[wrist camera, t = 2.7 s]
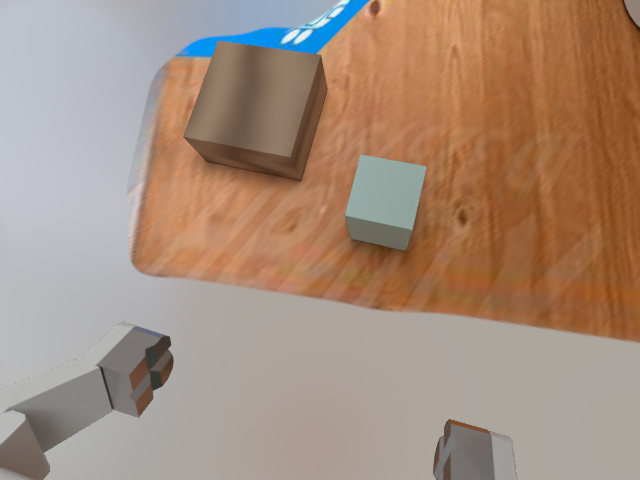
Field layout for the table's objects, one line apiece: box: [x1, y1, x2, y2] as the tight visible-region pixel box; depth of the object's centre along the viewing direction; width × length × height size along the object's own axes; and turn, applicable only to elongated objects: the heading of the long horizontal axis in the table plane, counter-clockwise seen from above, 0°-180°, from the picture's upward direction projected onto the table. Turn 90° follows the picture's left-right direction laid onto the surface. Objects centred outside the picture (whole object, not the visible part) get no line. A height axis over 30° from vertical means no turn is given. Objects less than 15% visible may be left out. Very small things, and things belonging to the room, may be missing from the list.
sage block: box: [345, 154, 427, 251], centre depth 33 cm, size 5×5×7 cm
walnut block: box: [183, 41, 327, 180], centre depth 38 cm, size 10×10×5 cm
